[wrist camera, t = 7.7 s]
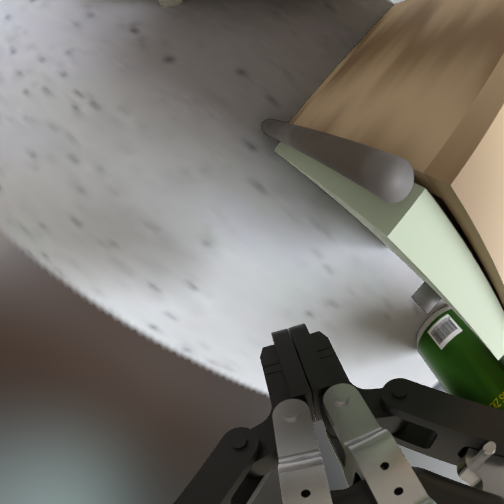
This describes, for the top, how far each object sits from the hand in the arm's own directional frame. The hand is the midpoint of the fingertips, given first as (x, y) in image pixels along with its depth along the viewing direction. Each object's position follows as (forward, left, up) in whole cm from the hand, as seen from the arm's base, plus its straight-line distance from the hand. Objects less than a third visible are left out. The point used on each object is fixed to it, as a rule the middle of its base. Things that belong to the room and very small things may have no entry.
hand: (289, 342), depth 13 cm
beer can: (-4, +16, -5) cm, 18 cm away
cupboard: (-12, 0, -5) cm, 13 cm away
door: (-6, 0, -5) cm, 8 cm away
